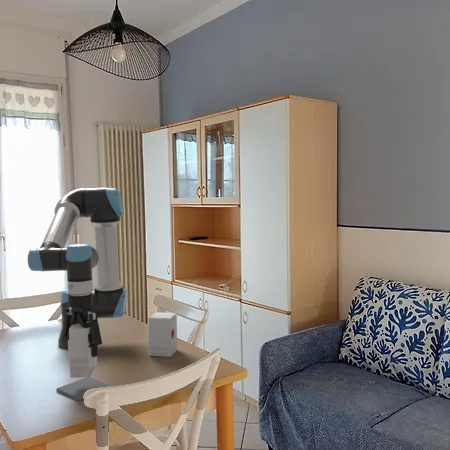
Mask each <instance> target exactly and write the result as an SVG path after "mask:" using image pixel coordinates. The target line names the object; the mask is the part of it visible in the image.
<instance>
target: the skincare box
mask: <svg viewBox="0 0 450 450" xmlns="http://www.w3.org/2000/svg"><path fill="white" fill-rule="evenodd" d="M89 333H90V328H84V327H82V326H81V324H80V323H76V324H73V325H72V326H71V327H70V329H69V351H70V361H69V377H70V378H71V379H72V378H73V379H74V378H86V377H91V375H92V374H93V372H94V370H95V367H96V366H94V367H91V368H89V361H88V346H89V342H88V334H89Z"/></svg>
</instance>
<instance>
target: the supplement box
mask: <svg viewBox="0 0 450 450" xmlns="http://www.w3.org/2000/svg"><path fill="white" fill-rule="evenodd" d="M177 317H178V314H177V313H176V312H155V313H153V314H152V315H150V316H149V317H148V356H149V357H164V358H165V357H168V358H172V356H173V355H174V354H175V353H176V352H177V351H178V319H177Z"/></svg>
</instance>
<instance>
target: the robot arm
mask: <svg viewBox="0 0 450 450" xmlns="http://www.w3.org/2000/svg"><path fill="white" fill-rule="evenodd" d="M124 215H125V211H124V202H123V197H122V195H121V192H120V190H119V189H117V188H114V187H95V188H89V187H88V188H85V187H84V188H81V187H80V188H76V189H73V190H72V191H70V192H68V193H66V194H65V195H64V196H62V197H61V199H60V200H58V202H57V203H56V205H55V207H54V216H53V218H52V221H51V223H50V226H49V227H48V230H47V232H46V234H45V236H44V239H43V241H42V242H41V245H40V246H39V248H38V247H36V248H31V249H30V250H29V251H28V254H27V265H28V268H29V270H31V271H33V272H52V271H53V272H59V271H64V272H65V271H66V275H67V277H66V279H67V289H66V290H64V291H63V292H62V293H61V296H60V297H61V298H60V308H61V309H60V310H61V330H60V333H59V336H58V339H57V342H58V343H57V344H58V345H57V346H58V347H59V348H61V349H68V351H67V352H68V361H69V362H70V351H69V329H70V327H71V326H72V325H73V324H76V323H80V324H81V326H82V327H84V328H90V333H89V334H88V342H89V346H88V361H89V368H91V367H94V366H95V367H97V366H98V355H99V354H98V353H99V352H98V351H99V350H98V346H99V345H103V341H102V336H101V329H100V325H99V319H115V318H122V317H124V315H125V312H126V308H127V307H126V306H127V303H128V302H127V301H128V289H126V288H124V285H123V283H122V282H121V281H120V275H119V273H120V272H119V271H120V270H119V255H118V253H119V251H118V234H117V233H118V232H117V230H118V229H117V225H118V224H119V223H120V222H121V218H122V217H123V216H124ZM79 218H89V219H90V223H91V224H92V225H93V226H94V235H95V247H93V246H91V245H90V244H88V243H75V244H69V245H68V246H67V247H66V244H67V242H68V239H69V237H70V235H71V233H72V230H73V226H74V225H75V223H77V221H78V220H79ZM95 267H96V273H97V283H96V284H95V285H93V269H94V268H95ZM93 286H94V287H93Z"/></svg>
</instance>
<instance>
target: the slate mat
mask: <svg viewBox="0 0 450 450" xmlns="http://www.w3.org/2000/svg"><path fill="white" fill-rule="evenodd" d="M107 386H111V387H112V385H111V384H108V383H106V382H104V381H101V380H98V379H96V378H94V377H91V376H90V377H82V378H81V379H78V380H75V381H73V382H71V383H68V384H65V385H64V384H63V386H62V385H61V386H60V387H56V390H55V391H56V392H57V391H58V392H57V393H59V392H60V393H59V394H61V393H62V395H63V394H64V396H66V395H67V396H66V397H68V398H70V397H71V399H73V400H75V401H77V400H78V401H77V402H81V401H83V400H84V399H83V395H84V393H85V392H86V391H87V390H89V389H92V388H99V387H107ZM80 400H81V401H80Z"/></svg>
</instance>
